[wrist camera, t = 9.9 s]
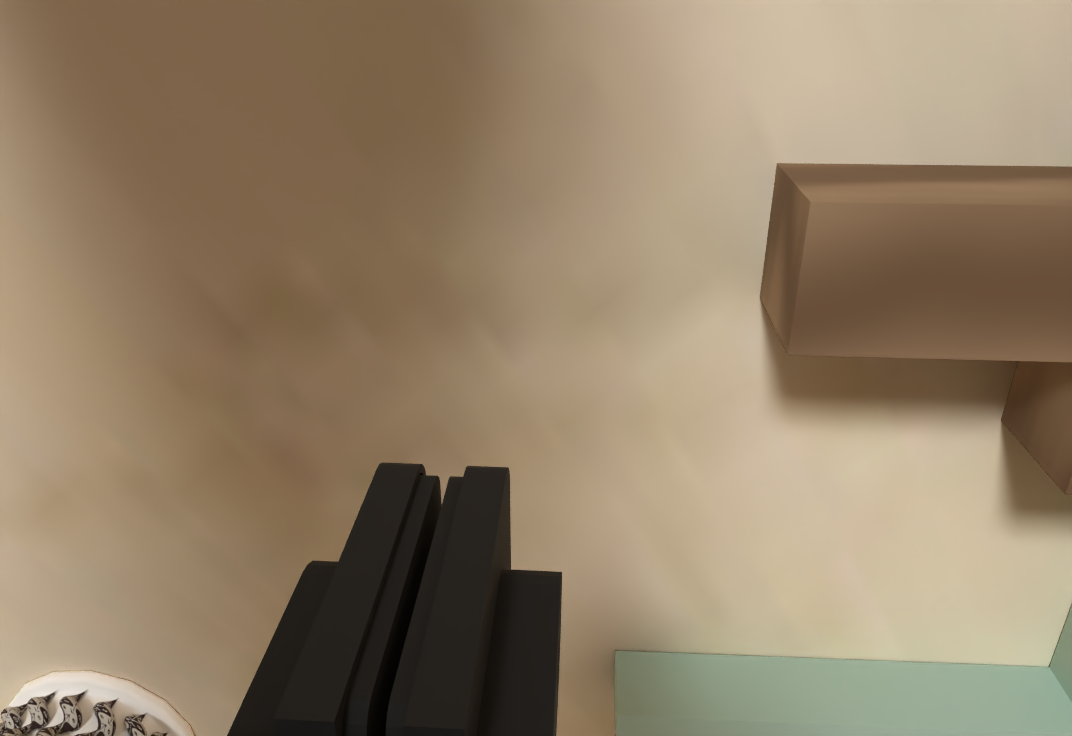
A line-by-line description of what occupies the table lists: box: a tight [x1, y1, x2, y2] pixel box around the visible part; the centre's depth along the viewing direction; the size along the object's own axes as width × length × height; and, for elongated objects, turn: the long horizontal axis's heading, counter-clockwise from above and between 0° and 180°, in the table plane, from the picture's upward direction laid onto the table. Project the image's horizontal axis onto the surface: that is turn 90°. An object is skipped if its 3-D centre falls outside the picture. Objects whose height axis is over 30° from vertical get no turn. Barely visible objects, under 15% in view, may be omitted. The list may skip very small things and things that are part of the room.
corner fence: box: [614, 606, 1072, 736], centre depth 25 cm, size 22×18×3 cm
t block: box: [760, 163, 1072, 495], centre depth 22 cm, size 12×12×4 cm
